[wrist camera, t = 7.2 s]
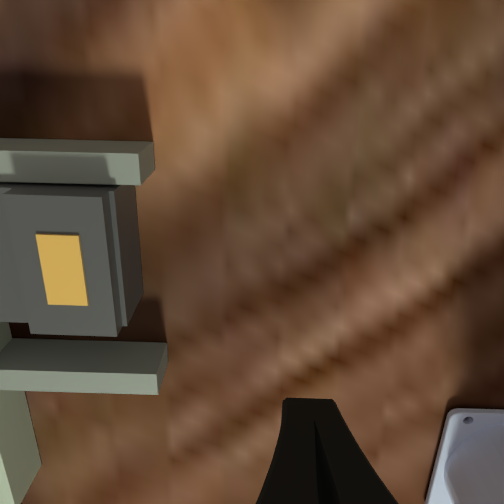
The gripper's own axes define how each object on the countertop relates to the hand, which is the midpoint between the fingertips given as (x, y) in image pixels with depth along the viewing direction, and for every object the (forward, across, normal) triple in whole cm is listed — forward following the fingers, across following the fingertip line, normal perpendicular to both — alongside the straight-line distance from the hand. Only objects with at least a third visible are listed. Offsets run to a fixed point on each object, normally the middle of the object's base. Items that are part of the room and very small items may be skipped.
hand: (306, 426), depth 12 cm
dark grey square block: (+10, +10, -2) cm, 15 cm away
